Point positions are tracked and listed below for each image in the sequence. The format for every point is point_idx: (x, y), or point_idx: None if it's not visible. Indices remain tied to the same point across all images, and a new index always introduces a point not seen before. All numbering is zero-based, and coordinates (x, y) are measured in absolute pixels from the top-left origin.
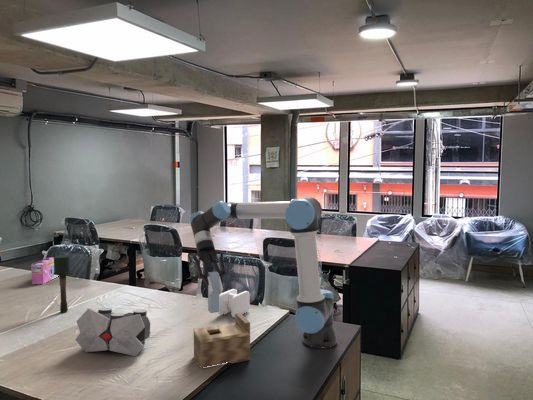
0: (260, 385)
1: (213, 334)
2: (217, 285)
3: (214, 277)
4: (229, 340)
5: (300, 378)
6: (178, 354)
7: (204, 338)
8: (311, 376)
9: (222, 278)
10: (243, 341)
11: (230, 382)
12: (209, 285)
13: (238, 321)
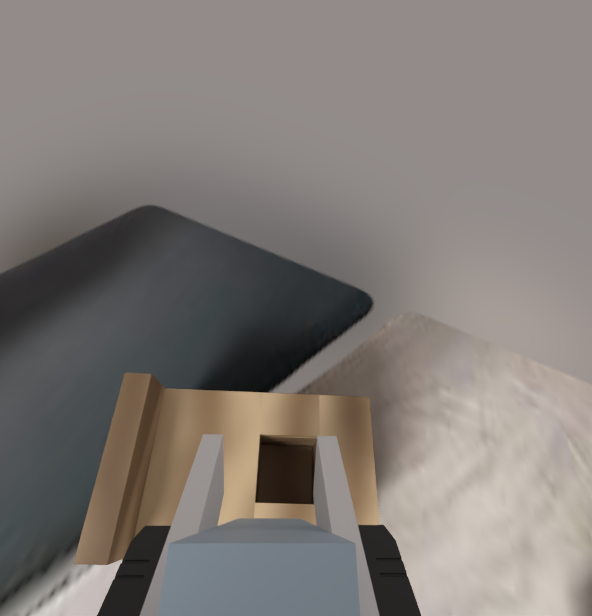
0: (227, 275)
1: (282, 503)
2: (232, 528)
3: (271, 537)
4: None
5: (120, 261)
6: None
7: (351, 410)
8: (89, 258)
9: (107, 596)
10: None
11: (289, 316)
12: (348, 498)
13: (134, 493)
